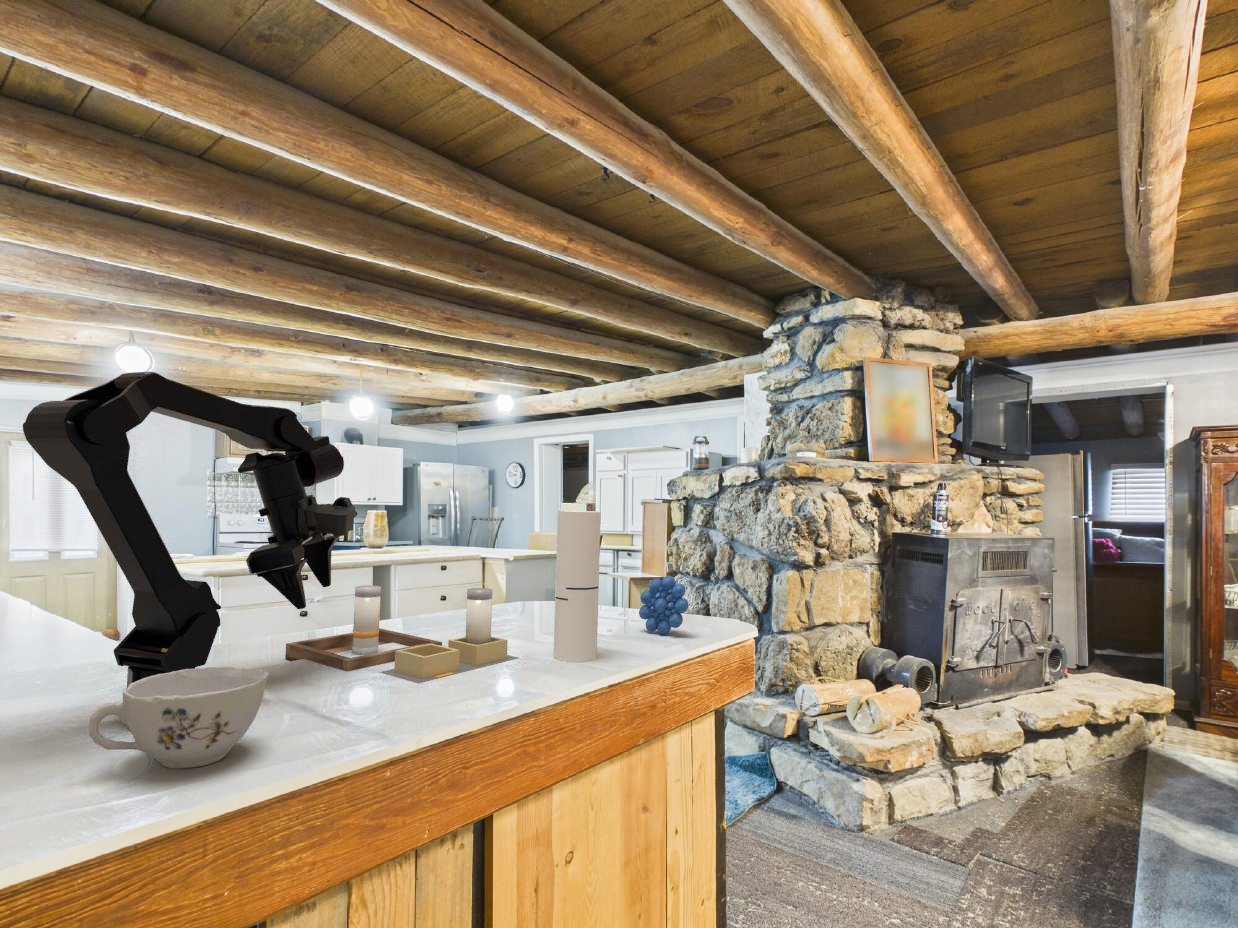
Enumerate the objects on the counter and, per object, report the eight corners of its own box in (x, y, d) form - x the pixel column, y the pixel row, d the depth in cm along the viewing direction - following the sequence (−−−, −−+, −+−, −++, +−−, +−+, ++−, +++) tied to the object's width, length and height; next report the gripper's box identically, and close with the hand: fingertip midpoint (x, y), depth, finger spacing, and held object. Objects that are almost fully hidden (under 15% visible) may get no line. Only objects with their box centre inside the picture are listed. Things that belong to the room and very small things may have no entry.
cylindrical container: (590, 669, 108) (595, 512, 109) (547, 666, 109) (552, 511, 110) (600, 659, 115) (604, 511, 116) (560, 656, 116) (564, 510, 117)
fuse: (475, 662, 106) (478, 591, 107) (459, 658, 109) (462, 589, 110) (495, 658, 110) (497, 589, 110) (479, 654, 112) (481, 587, 113)
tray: (347, 677, 100) (347, 660, 100) (285, 658, 110) (286, 643, 110) (441, 657, 114) (442, 642, 114) (379, 642, 124) (379, 628, 124)
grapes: (698, 635, 137) (699, 575, 138) (680, 640, 132) (681, 578, 132) (651, 627, 144) (652, 571, 145) (632, 632, 139) (633, 573, 139)
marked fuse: (361, 658, 109) (364, 589, 110) (346, 654, 111) (349, 586, 112) (383, 654, 112) (386, 587, 113) (368, 650, 115) (371, 584, 115)
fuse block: (418, 690, 94) (419, 661, 95) (379, 678, 100) (380, 651, 100) (519, 663, 111) (520, 638, 111) (481, 655, 116) (482, 631, 116)
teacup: (245, 728, 78) (249, 657, 78) (280, 761, 69) (284, 681, 69) (78, 760, 68) (83, 679, 68) (93, 804, 58) (99, 709, 59)
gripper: (313, 496, 88) (346, 608, 90) (360, 472, 106) (387, 565, 109) (228, 515, 88) (264, 626, 90) (291, 487, 106) (319, 580, 109)
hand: (315, 596), depth 100 cm, fingers open, 9 cm apart
